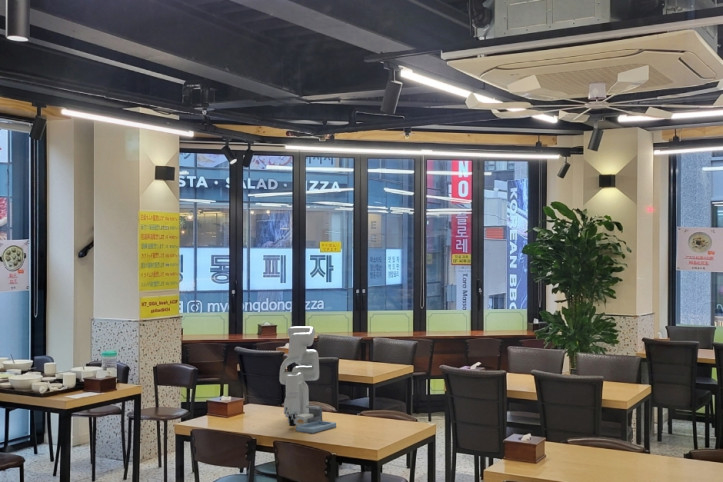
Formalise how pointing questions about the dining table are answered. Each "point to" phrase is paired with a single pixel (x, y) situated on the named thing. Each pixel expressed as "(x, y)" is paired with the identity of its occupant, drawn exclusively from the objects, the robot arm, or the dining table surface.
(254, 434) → the dining table surface
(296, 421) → the caddy
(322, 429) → the tray
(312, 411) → the printer bay
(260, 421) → the dining table surface
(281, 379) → the robot arm
